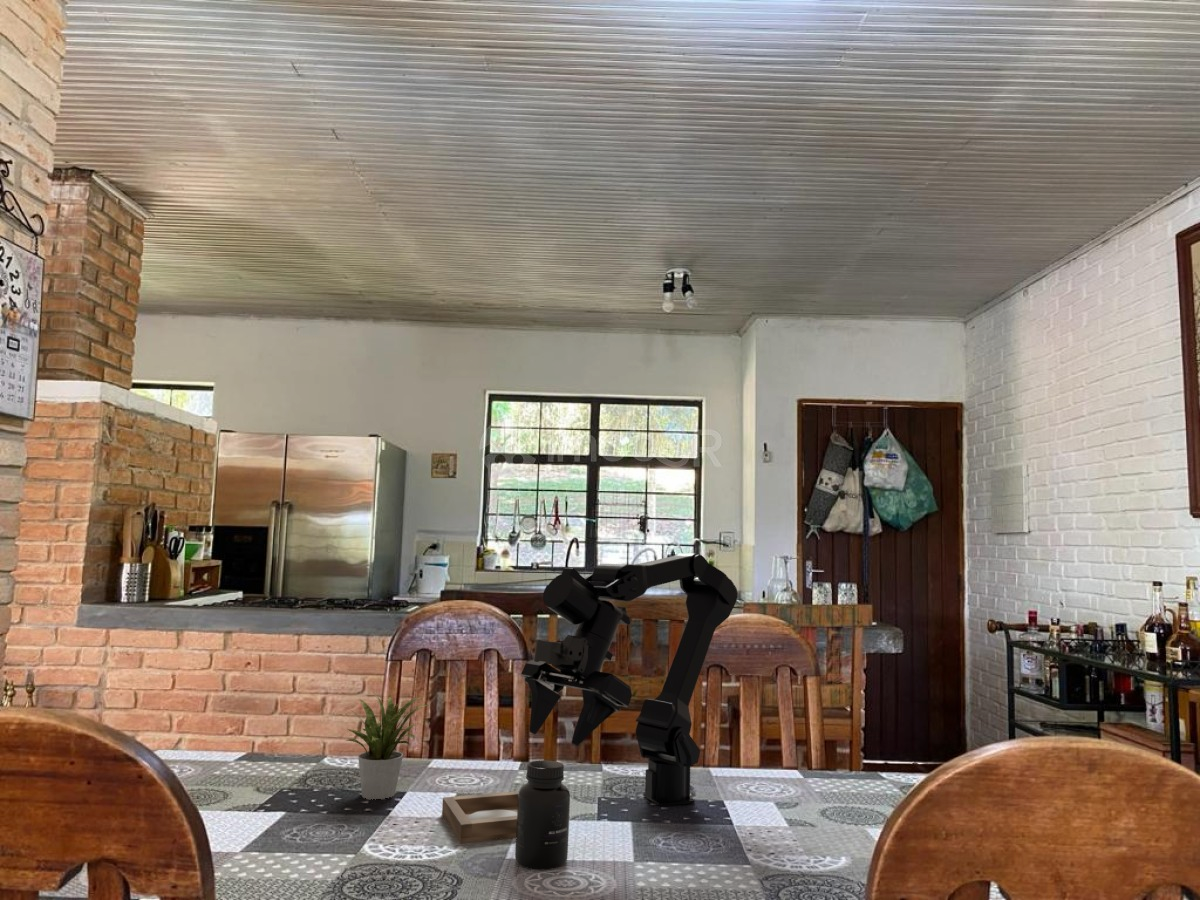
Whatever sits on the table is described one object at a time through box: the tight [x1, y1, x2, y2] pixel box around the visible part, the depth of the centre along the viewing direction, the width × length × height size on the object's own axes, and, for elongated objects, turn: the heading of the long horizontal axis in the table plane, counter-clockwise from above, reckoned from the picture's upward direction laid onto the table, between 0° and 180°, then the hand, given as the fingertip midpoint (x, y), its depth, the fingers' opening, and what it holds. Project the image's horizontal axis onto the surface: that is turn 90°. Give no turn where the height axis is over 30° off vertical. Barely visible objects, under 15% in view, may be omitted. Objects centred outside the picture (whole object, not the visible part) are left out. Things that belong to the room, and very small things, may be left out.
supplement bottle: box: [514, 759, 571, 871], centre depth 103 cm, size 7×7×12 cm
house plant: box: [344, 692, 431, 801], centre depth 130 cm, size 14×14×16 cm
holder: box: [441, 790, 519, 844], centre depth 116 cm, size 13×13×2 cm
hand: (552, 738), depth 114 cm, fingers open, 9 cm apart
